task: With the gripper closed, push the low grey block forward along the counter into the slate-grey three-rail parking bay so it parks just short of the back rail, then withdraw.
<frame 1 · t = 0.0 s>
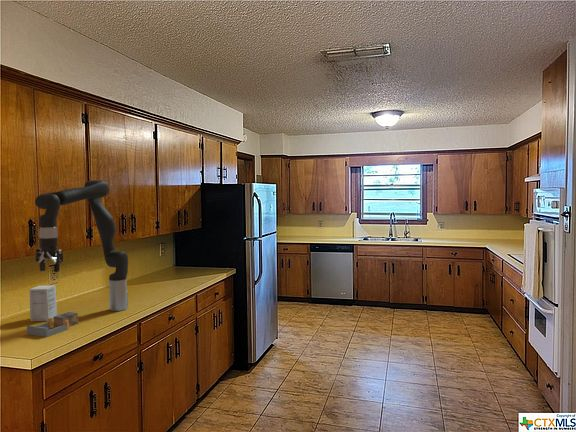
hand: (49, 271, 198), 29 cm above the countertop, fingers open, 8 cm apart
grey block: (66, 325, 212), on the countertop
supplement box: (44, 319, 224), on the countertop
bay: (48, 331, 202), on the countertop
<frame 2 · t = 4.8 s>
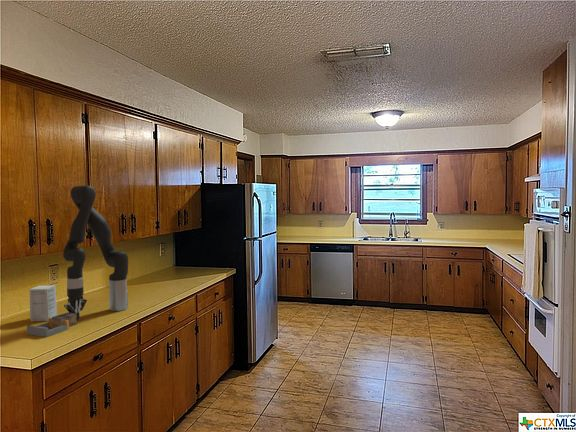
hand: (76, 320, 217), 1 cm above the countertop, fingers closed
grey block: (64, 326, 210), on the countertop, touching gripper
everything else where it was.
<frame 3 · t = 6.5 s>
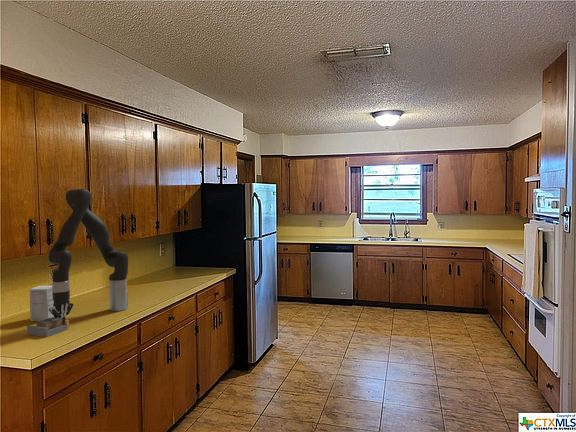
hand: (62, 324, 209), 1 cm above the countertop, fingers closed
grey block: (49, 331, 202), resting in bay, touching gripper
everything else where it was.
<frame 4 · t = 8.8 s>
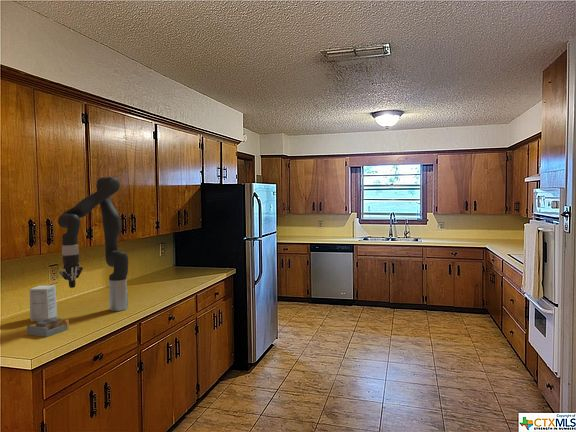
hand: (72, 287, 215), 18 cm above the countertop, fingers closed
grey block: (48, 332, 202), resting in bay
everything else where it was.
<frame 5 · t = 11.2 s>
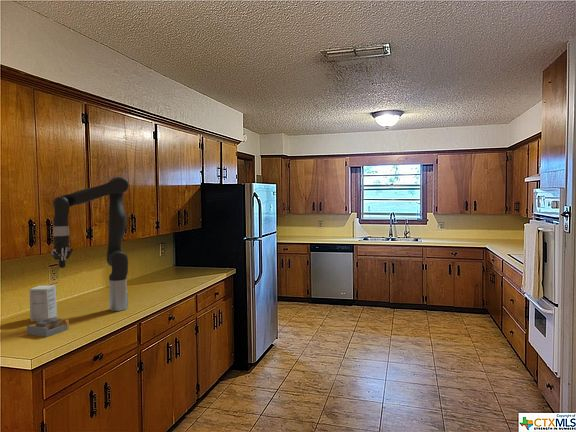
hand: (62, 267, 223), 27 cm above the countertop, fingers closed
nothing on the countertop moved.
at the end: grey block inside the target area on the bay (0.5 cm from its centre), point 0.0 cm above the bay's base; grey block tilted 0° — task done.
